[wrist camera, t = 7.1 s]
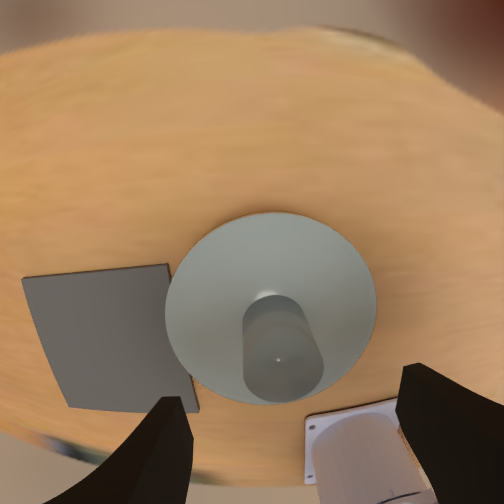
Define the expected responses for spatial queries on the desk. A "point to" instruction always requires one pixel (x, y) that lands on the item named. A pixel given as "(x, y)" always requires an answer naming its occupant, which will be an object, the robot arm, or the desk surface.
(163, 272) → the mat
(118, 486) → the robot arm
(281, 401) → the lid
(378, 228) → the desk surface
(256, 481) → the desk surface
